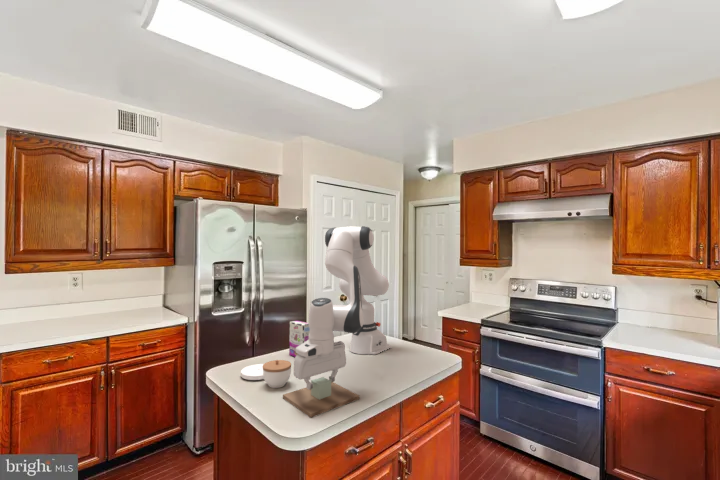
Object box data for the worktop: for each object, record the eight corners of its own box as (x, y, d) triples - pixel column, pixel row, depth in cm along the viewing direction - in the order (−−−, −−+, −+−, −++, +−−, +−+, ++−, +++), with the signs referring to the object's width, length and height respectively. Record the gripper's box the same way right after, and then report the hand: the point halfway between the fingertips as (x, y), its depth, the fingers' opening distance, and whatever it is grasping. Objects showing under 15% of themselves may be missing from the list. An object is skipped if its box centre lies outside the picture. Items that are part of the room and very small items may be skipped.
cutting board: (329, 383, 135) (329, 380, 135) (359, 399, 122) (359, 395, 122) (282, 398, 122) (282, 394, 122) (310, 417, 108) (310, 413, 108)
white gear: (256, 385, 134) (256, 378, 134) (233, 377, 141) (233, 371, 141) (283, 373, 146) (283, 367, 146) (260, 367, 153) (260, 361, 153)
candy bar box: (311, 358, 165) (311, 323, 165) (303, 360, 161) (303, 325, 161) (297, 353, 173) (297, 319, 173) (288, 355, 169) (288, 321, 169)
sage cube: (322, 390, 125) (323, 376, 125) (331, 395, 122) (331, 381, 122) (311, 394, 122) (311, 380, 122) (319, 399, 118) (319, 384, 118)
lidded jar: (288, 377, 141) (289, 354, 141) (293, 388, 131) (293, 363, 131) (261, 381, 137) (261, 357, 137) (263, 392, 127) (263, 366, 127)
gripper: (339, 338, 131) (339, 375, 131) (291, 349, 118) (291, 390, 118) (349, 341, 126) (349, 380, 126) (301, 353, 113) (300, 396, 113)
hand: (321, 385), depth 122 cm, fingers open, 8 cm apart
